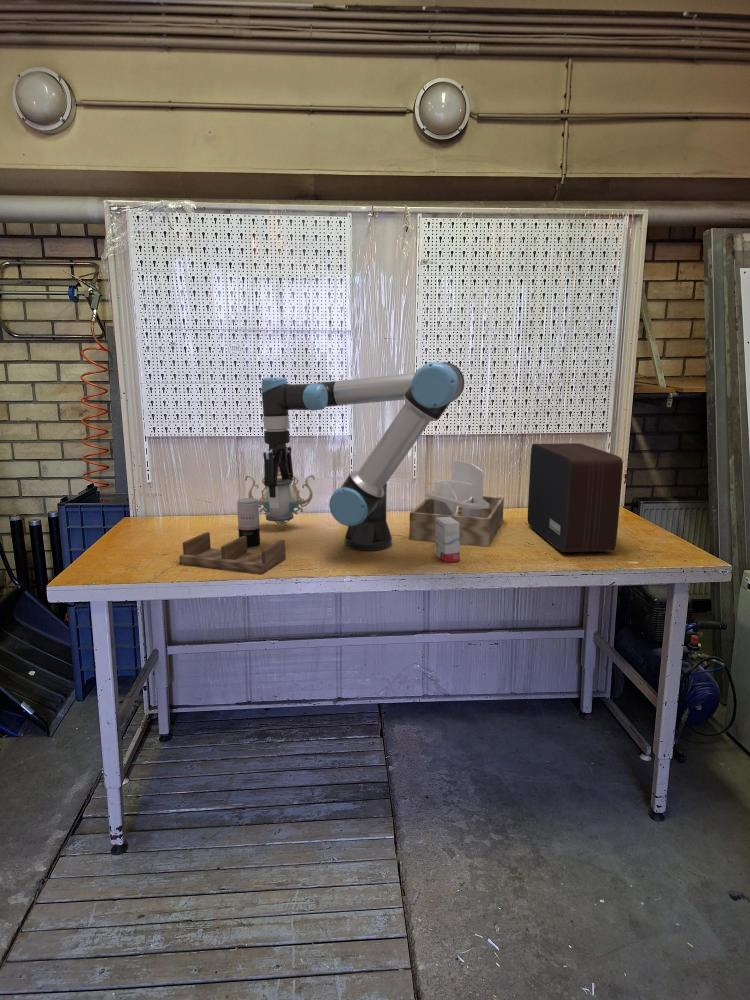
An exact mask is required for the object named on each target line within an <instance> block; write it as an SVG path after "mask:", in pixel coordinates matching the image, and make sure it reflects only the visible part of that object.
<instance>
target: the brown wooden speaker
mask: <svg viewBox="0 0 750 1000" xmlns="http://www.w3.org/2000/svg"><path fill="white" fill-rule="evenodd" d="M529 461H530V463H529V465H530V466H529V479H528V480H529V481H528V497H527V524H528V526H530V527H531V528H532V529H533V530H534V531H535V532H536V533H537V534H538V535H540V536H541V537H542V538H543V539H545V540H546V541H547V542H548V543H550V544H551V545H552V546H553V547H555V548H556V549H557V550H558V551H560V552H562V553H575V552H576V553H578V552H580V553H581V552H582V553H584V552H585V553H586V552H588V553H589V552H615V549H616V546H617V539H618V527H619V519H620V518H619V516H620V515H619V514H620V509H621V508H620V506H621V505H620V504H621V493H622V492H621V491H622V483H623V482H622V481H623V470H624V469H623V467H624V466H623V465H624V461H623V458H621V457H620V456H619V455H617V454H613V453H611V452H608V451H605V450H602V449H599V448H596V447H592V446H589V445H587V444H584V443H571V442H570V443H569V442H568V443H565V442H564V443H532V445H531V449H530V460H529Z"/></svg>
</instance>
